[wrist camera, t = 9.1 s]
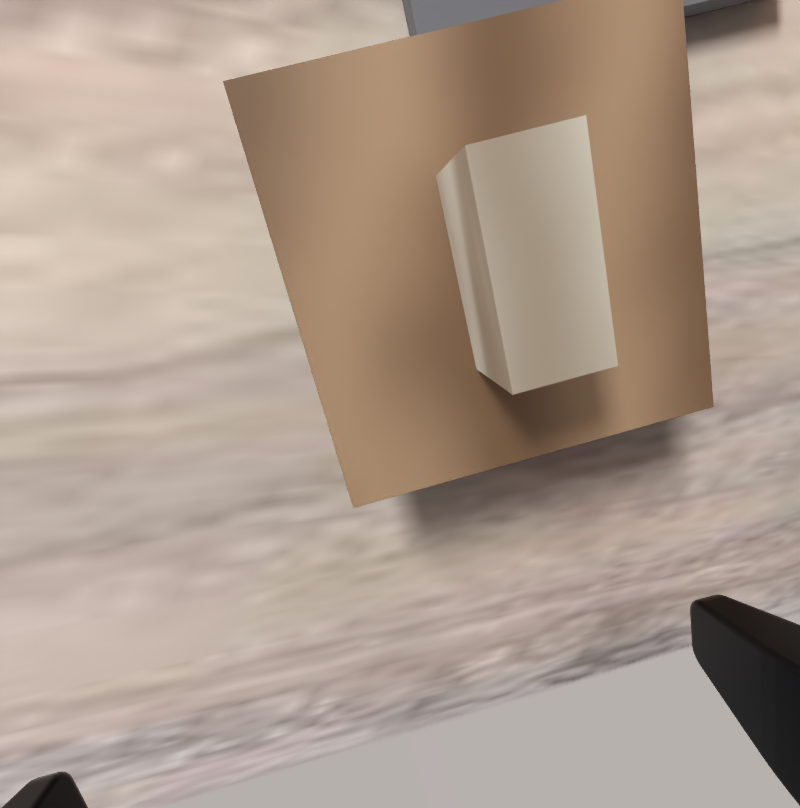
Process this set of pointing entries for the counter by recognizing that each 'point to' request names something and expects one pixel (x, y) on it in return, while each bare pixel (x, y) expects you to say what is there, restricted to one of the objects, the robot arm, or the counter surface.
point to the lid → (488, 236)
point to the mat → (501, 11)
